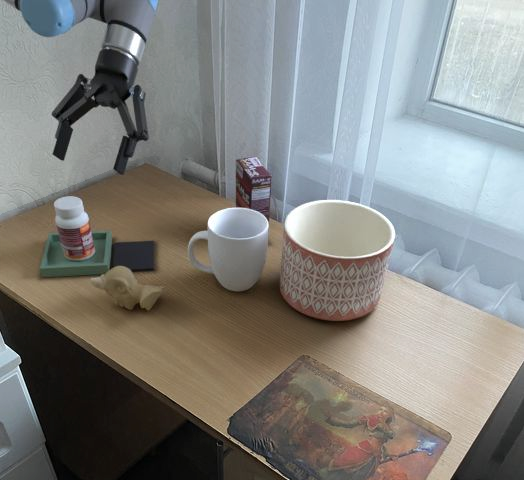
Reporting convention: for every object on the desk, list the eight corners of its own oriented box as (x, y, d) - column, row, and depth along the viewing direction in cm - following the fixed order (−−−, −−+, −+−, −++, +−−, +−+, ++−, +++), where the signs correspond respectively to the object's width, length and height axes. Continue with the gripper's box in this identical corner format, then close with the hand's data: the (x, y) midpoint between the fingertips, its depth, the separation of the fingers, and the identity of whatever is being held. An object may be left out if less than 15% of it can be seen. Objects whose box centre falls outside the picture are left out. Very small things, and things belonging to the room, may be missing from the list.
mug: (185, 296, 101) (181, 235, 92) (193, 262, 109) (190, 204, 100) (264, 300, 101) (267, 240, 92) (266, 266, 109) (269, 208, 100)
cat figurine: (153, 295, 91) (90, 264, 91) (142, 329, 94) (81, 299, 94) (171, 280, 98) (112, 251, 98) (159, 311, 101) (103, 284, 101)
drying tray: (50, 241, 112) (48, 233, 110) (112, 239, 114) (110, 230, 112) (42, 277, 103) (39, 268, 102) (109, 273, 105) (107, 264, 103)
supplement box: (234, 227, 119) (234, 158, 108) (254, 224, 120) (256, 155, 109) (247, 248, 113) (249, 177, 102) (269, 244, 115) (273, 174, 104)
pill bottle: (93, 262, 106) (82, 210, 98) (61, 262, 106) (47, 210, 98) (97, 244, 111) (87, 194, 103) (67, 245, 110) (54, 194, 102)
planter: (296, 334, 94) (304, 264, 84) (267, 271, 107) (271, 204, 97) (395, 319, 98) (414, 250, 88) (355, 260, 112) (368, 195, 101)
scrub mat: (115, 244, 112) (114, 242, 112) (153, 242, 113) (153, 240, 113) (112, 272, 105) (112, 270, 105) (154, 270, 106) (153, 268, 106)
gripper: (185, 80, 103) (153, 185, 103) (75, 59, 109) (45, 159, 109) (169, 57, 96) (135, 170, 96) (53, 36, 102) (21, 143, 102)
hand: (87, 164), depth 103 cm, fingers open, 13 cm apart
